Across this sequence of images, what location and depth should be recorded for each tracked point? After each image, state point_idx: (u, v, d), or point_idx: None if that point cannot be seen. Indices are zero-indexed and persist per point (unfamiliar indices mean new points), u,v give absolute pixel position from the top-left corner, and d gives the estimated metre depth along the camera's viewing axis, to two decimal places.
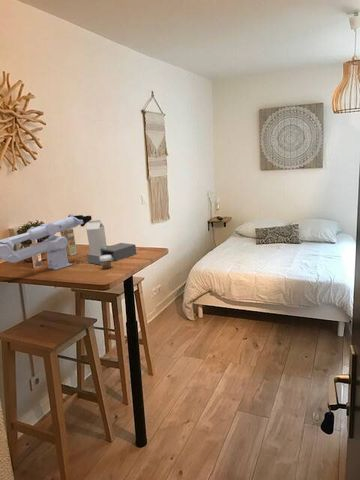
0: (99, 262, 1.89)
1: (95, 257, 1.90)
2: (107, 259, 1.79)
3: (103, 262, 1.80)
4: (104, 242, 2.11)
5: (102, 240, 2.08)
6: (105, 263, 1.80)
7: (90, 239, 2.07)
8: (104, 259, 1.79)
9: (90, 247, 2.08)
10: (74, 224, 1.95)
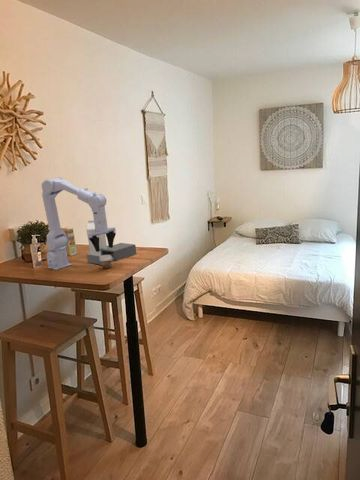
0: (99, 262, 1.89)
1: (95, 257, 1.90)
2: (107, 259, 1.79)
3: (103, 262, 1.80)
4: (104, 242, 2.11)
5: (102, 240, 2.08)
6: (105, 263, 1.80)
7: None
8: (104, 259, 1.79)
9: (90, 247, 2.08)
10: (95, 230, 1.78)
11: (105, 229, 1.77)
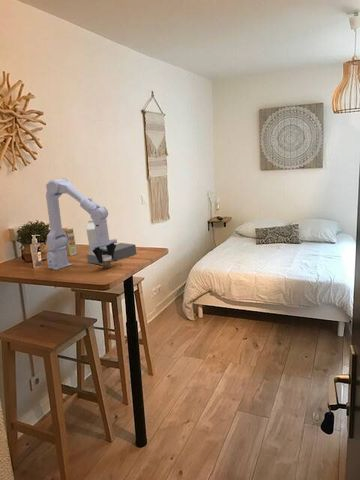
0: None
1: (95, 257, 1.90)
2: (107, 259, 1.79)
3: (103, 262, 1.80)
4: None
5: None
6: (105, 263, 1.80)
7: (90, 239, 2.07)
8: (104, 259, 1.79)
9: None
10: (97, 242, 1.79)
11: (107, 241, 1.78)
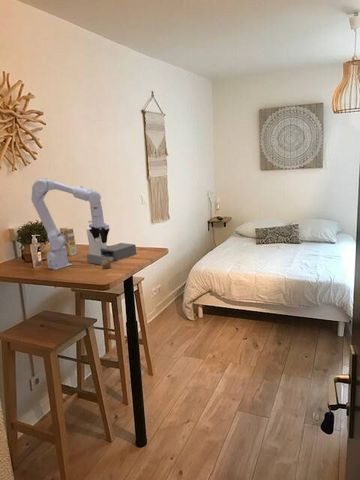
0: (99, 262, 1.89)
1: (95, 257, 1.90)
2: None
3: (103, 262, 1.80)
4: None
5: None
6: (105, 263, 1.80)
7: (90, 239, 2.07)
8: None
9: (90, 247, 2.08)
10: (99, 224, 1.89)
11: None
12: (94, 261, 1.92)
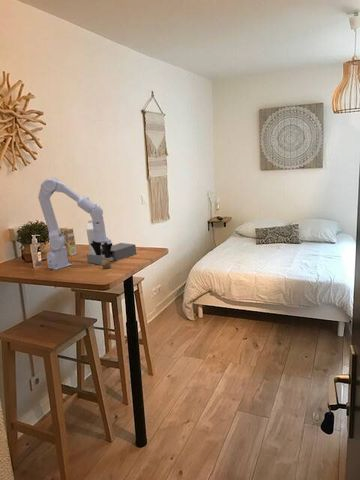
0: (99, 262, 1.89)
1: (95, 257, 1.90)
2: None
3: (103, 262, 1.80)
4: None
5: None
6: (105, 263, 1.80)
7: (90, 239, 2.07)
8: None
9: (90, 247, 2.08)
10: (101, 238, 1.91)
11: None
12: (94, 261, 1.92)
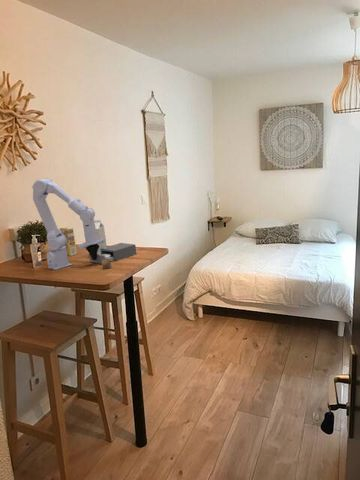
0: (101, 261, 1.90)
1: (97, 256, 1.91)
2: None
3: (103, 262, 1.80)
4: None
5: None
6: (105, 263, 1.80)
7: None
8: (110, 256, 1.96)
9: None
10: None
11: (95, 241, 1.88)
12: (96, 260, 1.93)
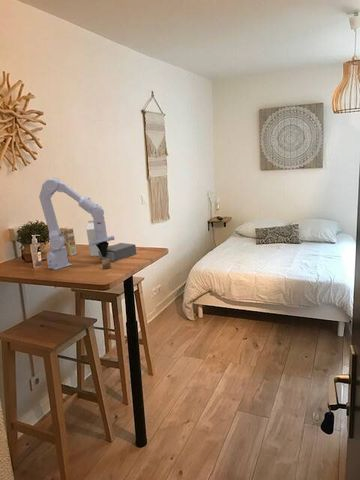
0: (110, 258, 1.94)
1: (106, 254, 1.95)
2: None
3: (103, 262, 1.80)
4: None
5: None
6: (105, 263, 1.80)
7: (90, 239, 2.07)
8: None
9: (90, 247, 2.08)
10: None
11: (105, 238, 1.92)
12: (105, 257, 1.97)
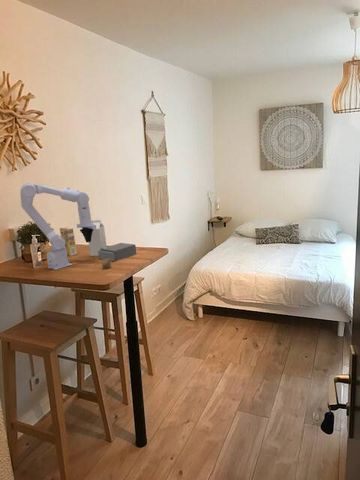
0: (110, 258, 1.94)
1: (106, 254, 1.95)
2: None
3: (103, 262, 1.80)
4: (104, 242, 2.11)
5: (102, 240, 2.08)
6: (105, 263, 1.80)
7: None
8: None
9: (90, 247, 2.08)
10: (87, 224, 1.93)
11: None
12: (105, 257, 1.97)
